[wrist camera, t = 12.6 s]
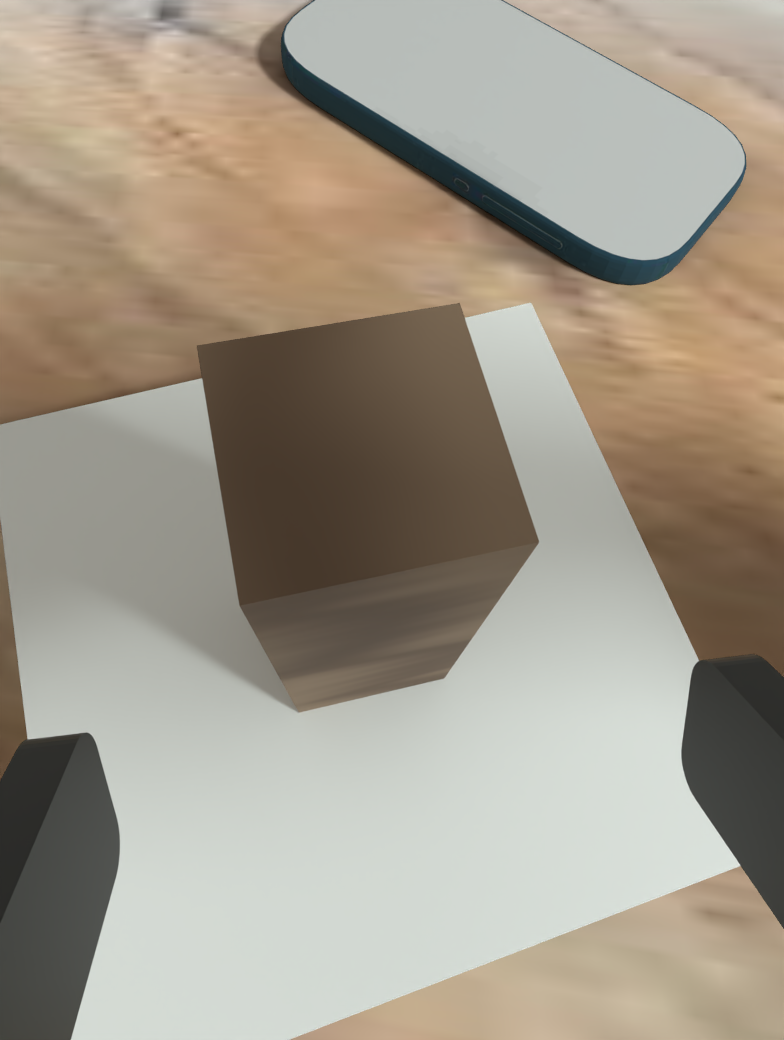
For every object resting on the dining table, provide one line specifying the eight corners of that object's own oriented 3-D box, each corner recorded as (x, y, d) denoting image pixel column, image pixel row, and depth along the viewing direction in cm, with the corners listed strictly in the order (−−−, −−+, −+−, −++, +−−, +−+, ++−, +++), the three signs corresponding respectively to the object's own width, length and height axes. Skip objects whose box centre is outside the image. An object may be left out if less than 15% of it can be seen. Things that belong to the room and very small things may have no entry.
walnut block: (409, 543, 23) (459, 303, 12) (444, 678, 22) (539, 542, 11) (272, 571, 23) (196, 345, 12) (298, 712, 21) (239, 606, 10)
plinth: (509, 363, 31) (531, 302, 27) (720, 842, 24) (786, 847, 20) (37, 477, 28) (-11, 427, 24) (124, 1066, 21) (74, 1121, 17)
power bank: (750, 179, 37) (772, 145, 35) (637, 318, 33) (654, 288, 31) (392, -23, 41) (394, -62, 40) (257, 79, 38) (252, 41, 36)
